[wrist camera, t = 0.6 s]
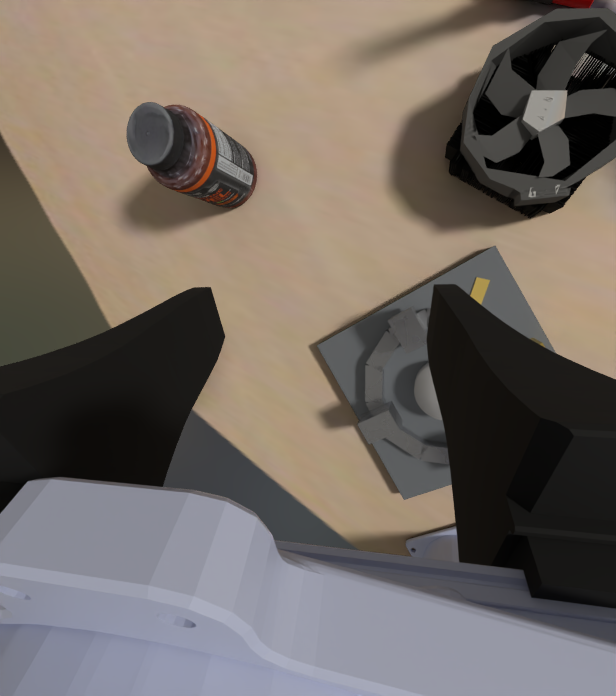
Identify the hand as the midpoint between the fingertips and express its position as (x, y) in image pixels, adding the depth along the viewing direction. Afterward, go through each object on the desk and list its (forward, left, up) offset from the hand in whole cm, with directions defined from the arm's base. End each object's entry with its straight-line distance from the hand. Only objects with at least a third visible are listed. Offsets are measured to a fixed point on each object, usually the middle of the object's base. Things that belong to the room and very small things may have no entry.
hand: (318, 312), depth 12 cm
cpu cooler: (+5, -14, -22) cm, 27 cm away
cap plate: (-10, 0, -22) cm, 24 cm away
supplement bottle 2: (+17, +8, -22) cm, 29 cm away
